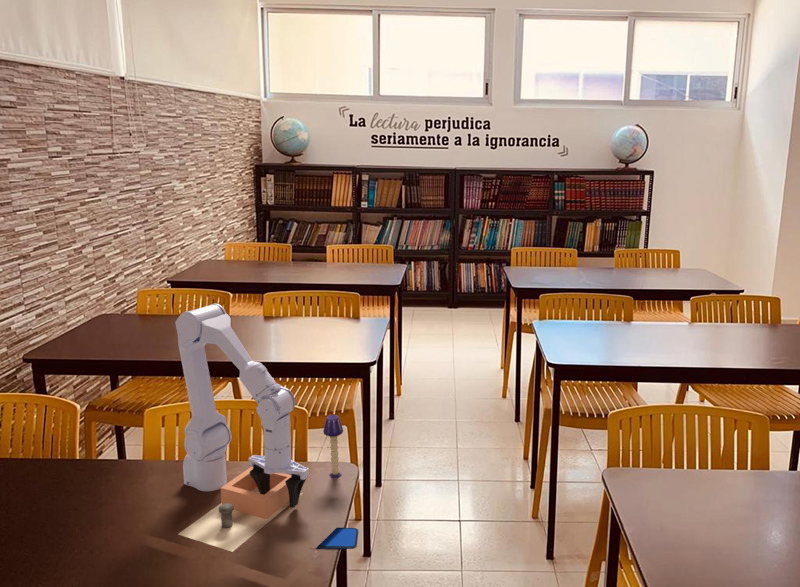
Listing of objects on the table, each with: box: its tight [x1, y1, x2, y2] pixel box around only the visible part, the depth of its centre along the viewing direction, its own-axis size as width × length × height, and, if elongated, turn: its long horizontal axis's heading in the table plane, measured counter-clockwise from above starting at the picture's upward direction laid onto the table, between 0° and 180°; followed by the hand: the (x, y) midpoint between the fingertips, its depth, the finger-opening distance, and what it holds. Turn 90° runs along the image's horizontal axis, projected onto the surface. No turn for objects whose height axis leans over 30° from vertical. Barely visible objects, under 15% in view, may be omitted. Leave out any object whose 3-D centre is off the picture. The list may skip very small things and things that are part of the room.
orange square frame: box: [220, 466, 291, 519], centre depth 152 cm, size 12×12×4 cm
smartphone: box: [315, 527, 359, 550], centre depth 141 cm, size 7×1×15 cm
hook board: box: [177, 487, 304, 553], centre depth 147 cm, size 14×25×6 cm, turn 155°
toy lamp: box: [322, 414, 344, 479], centre depth 163 cm, size 5×5×17 cm
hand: (279, 501), depth 151 cm, fingers open, 7 cm apart
